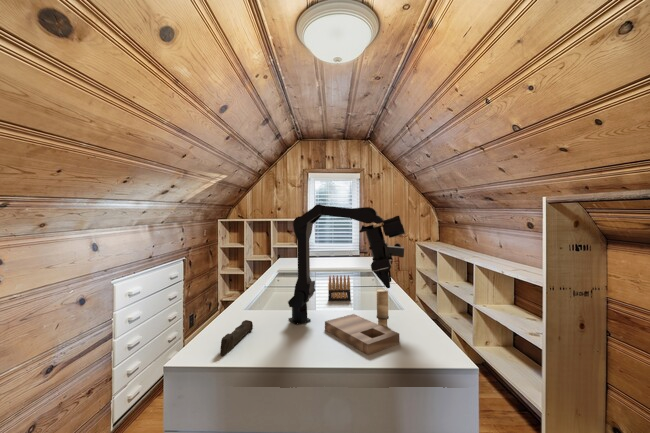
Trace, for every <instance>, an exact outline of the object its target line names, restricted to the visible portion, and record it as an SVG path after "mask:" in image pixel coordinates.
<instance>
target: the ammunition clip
mask: <svg viewBox="0 0 650 433" xmlns="http://www.w3.org/2000/svg"><path fill="white" fill-rule="evenodd" d="M350 280H351V278H350V275H349V274H348V275H347V277H346V275H345V274H344V275H343V277H342V275H340V276H339V275H336V277H335V275H333V276H332V277H331V275H329V276H328V285H327V286H328V288H327V289H328V293H327V294H328V295H327V296H328V298H327V299H328V302H351V301H352V299H351V298H352V296H351V281H350Z"/></svg>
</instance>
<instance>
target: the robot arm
mask: <svg viewBox="0 0 650 433" xmlns="http://www.w3.org/2000/svg"><path fill="white" fill-rule="evenodd" d="M322 216H328V217H337V218H346V219H352V220H354V221H357V222H361V223H364V224H362V225H361V228H360V230H359V233H365V236H366V239H367V242H368V246H369V247H368V248H369V249H368V250H370V252H371V255H372V258H371V259H372V262H371V264H370V268H371V271H372V272H373V274H375V275H376V276H377V278H378V279H379V280H380V281H381V283H382V284H383V285H384V286H385V288H386V289H391V282H392V273H391V271H392V270H391V269H392V264H393V262H394V257H399V258H404V257H405V247H404V246H402V245H401V244H400V242H399V243H397V242H395V243H394V245H389V244H388V242H386V240H385V237H389V239H391V238H396V237H399V236H402V235H403V236H404V235H406V231H405V228H404V225H403V223H402V221H401V216H400V215H395V216H393V217H390V218H386V219H384V218H383V217H381V216H380V215H378V211H377V210H376V209H375V208H373V207H370V206H365V207H353V208H352V207H351V208H349V207H339V206H332V205H325V204H316V205H314V206H313V207H312V208H311V209H309V210H308V211H306V212H305V213H303V214H302V215H300V216H297V217H295V218H294V220H293V221H292V226H293V227H292V228H293V232H294V235H295V238H296V241H297V279H296V283H295V286H294V291H293V292H294V293H293V296H292V297H291V298H290V299H289V300H288V301H287V304H288V307H289V308H291V317H289V318H288V321H289V322H291V323H293V324H295V325H299V324H304V323H308V322H311V318H309V317H308V304H307V303H308V302H310V299H312V297H313V296H314V294H315V292H316V287H315V286H316V280H312V279H311V278H312V277H311V276H310V275H311V271H310V266H311V265H310V264H311V263H310V238H311V235H312V232H313V225H314V224H315V223H316V222H318V220H319V219H321V217H322ZM373 223H374V224H377V225H378V226H375V225H374V224H373ZM365 224H370V225H365ZM379 224H382V225H379Z"/></svg>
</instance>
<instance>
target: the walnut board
mask: <svg viewBox="0 0 650 433" xmlns="http://www.w3.org/2000/svg"><path fill="white" fill-rule="evenodd" d="M324 330H325V331H326V332H327V333H329V334H331V335H333V336H334V337H337V338H338V339H340V340H341V341H343V342H345V343H347V344H348V345H350V346H352V347H353V348H354V349H355V348H356V349H357V350H359V351H360V352H362V353H364V354H366V355H367V356H369V355H373V354H375V353H377V352H378V353H379V352H380V351H382V350H385V349H388V348H390V347H391V348H392V347H393V346H396V345H398V344H399V345H400V333H399V332H397V331H394V330H393V329H390V328H388V327H383V326H381V325H378V323H377V322H374V321H371V320H370V319H366V318H364V317H362V316H360V315H357V314H355V313H352V314H349V315H344V316H340V317H337V318H333V319H329V320H325V321H324Z"/></svg>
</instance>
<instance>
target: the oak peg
mask: <svg viewBox="0 0 650 433" xmlns="http://www.w3.org/2000/svg"><path fill="white" fill-rule="evenodd" d="M389 316H390V315H389V290H387V289H377V290H376V319H377V322H378V323H377V324H378V325H381V326H383V327H385V328H388V320H389V319H390V318H389Z"/></svg>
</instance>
